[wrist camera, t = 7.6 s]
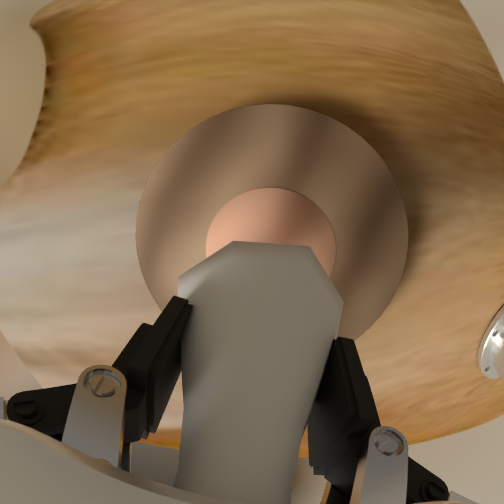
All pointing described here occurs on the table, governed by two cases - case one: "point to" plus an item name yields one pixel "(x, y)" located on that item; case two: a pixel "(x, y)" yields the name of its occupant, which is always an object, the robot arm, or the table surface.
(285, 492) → the flask
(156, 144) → the table surface
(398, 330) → the table surface
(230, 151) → the turntable
